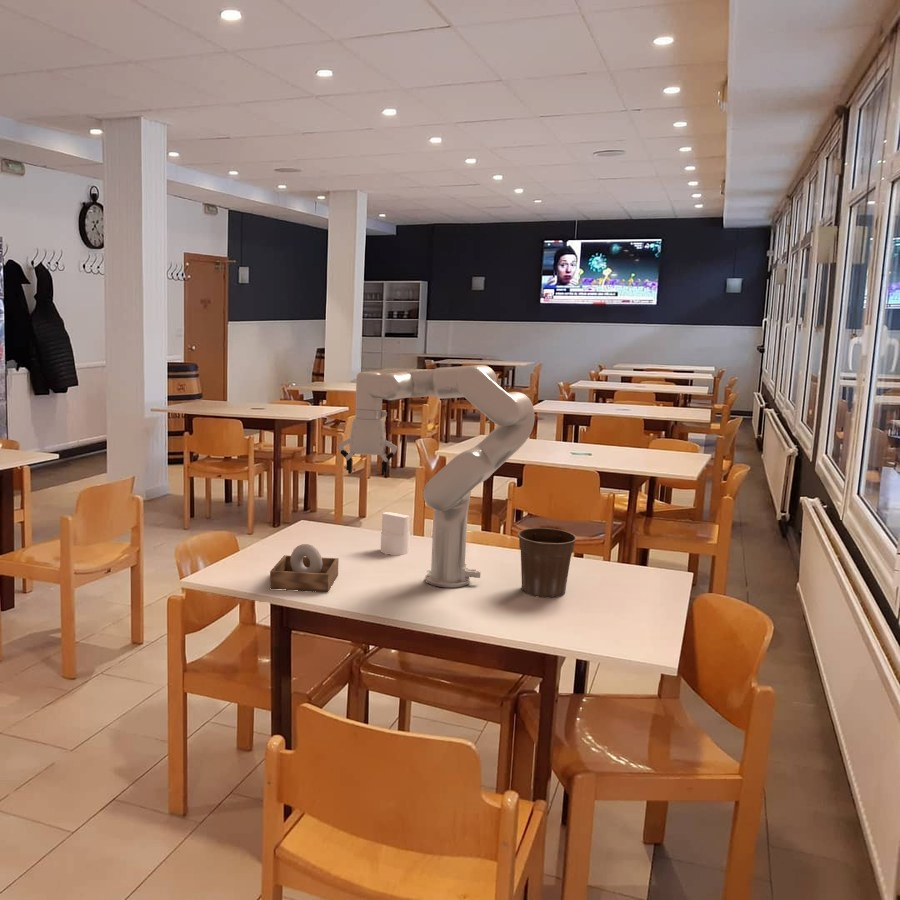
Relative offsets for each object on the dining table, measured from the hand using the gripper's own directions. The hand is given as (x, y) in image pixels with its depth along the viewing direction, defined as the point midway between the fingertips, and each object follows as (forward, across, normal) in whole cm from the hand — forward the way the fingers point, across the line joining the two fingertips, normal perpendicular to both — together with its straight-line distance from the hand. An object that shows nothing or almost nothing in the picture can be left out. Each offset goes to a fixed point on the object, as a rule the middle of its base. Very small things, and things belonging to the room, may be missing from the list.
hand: (366, 473), depth 240 cm
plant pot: (+28, -52, +12) cm, 60 cm away
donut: (+28, +14, +16) cm, 35 cm away
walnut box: (+28, +14, +16) cm, 35 cm away
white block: (+29, -7, -20) cm, 36 cm away
